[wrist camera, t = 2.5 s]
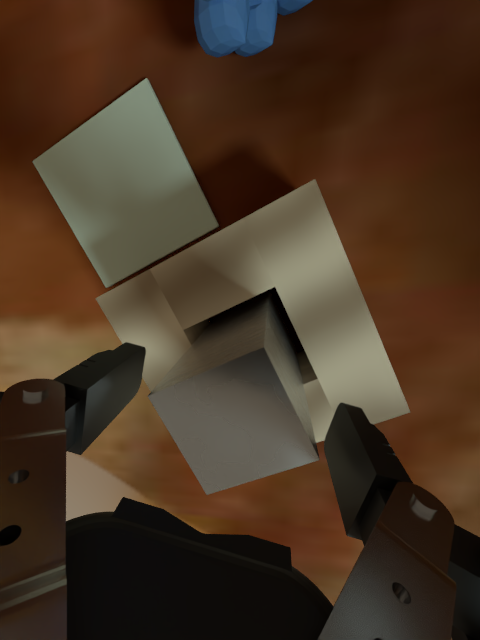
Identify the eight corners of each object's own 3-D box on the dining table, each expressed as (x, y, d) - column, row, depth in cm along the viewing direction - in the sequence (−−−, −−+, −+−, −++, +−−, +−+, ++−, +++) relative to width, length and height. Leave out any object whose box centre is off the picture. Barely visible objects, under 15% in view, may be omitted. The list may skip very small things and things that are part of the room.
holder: (378, 374, 21) (410, 412, 16) (217, 432, 24) (203, 479, 19) (304, 197, 18) (315, 178, 14) (135, 287, 21) (95, 298, 17)
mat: (219, 226, 19) (218, 225, 19) (108, 287, 22) (105, 287, 21) (149, 81, 18) (146, 78, 17) (36, 163, 20) (32, 161, 20)
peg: (294, 344, 21) (319, 459, 9) (242, 365, 22) (206, 494, 10) (269, 291, 20) (263, 347, 9) (216, 316, 21) (147, 396, 10)
